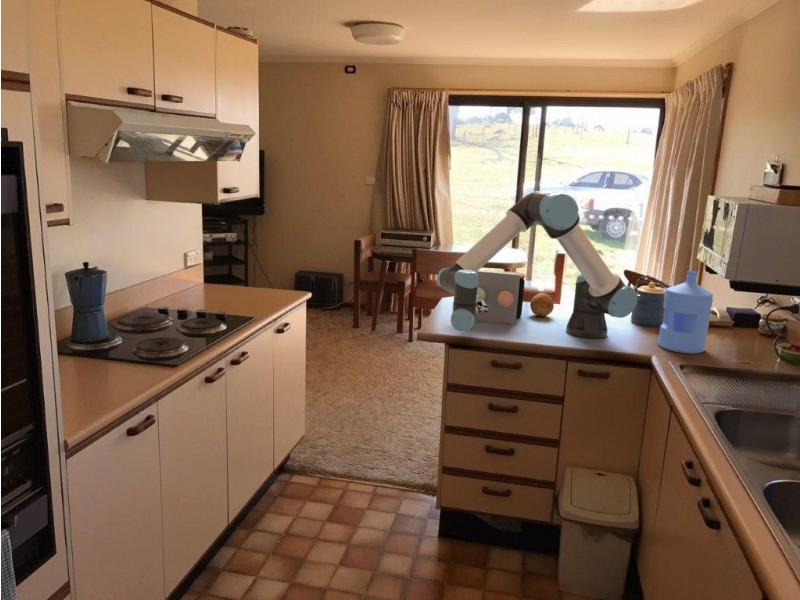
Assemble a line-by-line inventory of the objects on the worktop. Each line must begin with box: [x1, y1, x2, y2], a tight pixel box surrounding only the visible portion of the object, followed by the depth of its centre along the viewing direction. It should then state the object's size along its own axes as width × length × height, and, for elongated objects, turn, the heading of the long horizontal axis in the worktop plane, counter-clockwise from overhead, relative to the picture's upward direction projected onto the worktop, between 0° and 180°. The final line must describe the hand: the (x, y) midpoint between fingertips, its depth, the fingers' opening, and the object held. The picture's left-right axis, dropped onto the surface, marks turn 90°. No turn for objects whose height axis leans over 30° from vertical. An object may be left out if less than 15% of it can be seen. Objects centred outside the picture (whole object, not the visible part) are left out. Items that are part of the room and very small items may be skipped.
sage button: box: [477, 287, 486, 301], centre depth 245 cm, size 8×6×6 cm
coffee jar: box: [504, 271, 526, 319], centre depth 256 cm, size 11×11×18 cm
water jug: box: [657, 270, 714, 354], centre depth 219 cm, size 16×16×28 cm
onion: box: [529, 292, 555, 318], centre depth 258 cm, size 10×10×10 cm
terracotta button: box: [498, 291, 513, 307], centre depth 240 cm, size 8×6×6 cm
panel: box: [475, 269, 520, 325], centre depth 245 cm, size 3×20×20 cm, turn 77°
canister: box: [630, 281, 666, 328], centre depth 254 cm, size 13×13×18 cm
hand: (475, 298), depth 234 cm, fingers closed
